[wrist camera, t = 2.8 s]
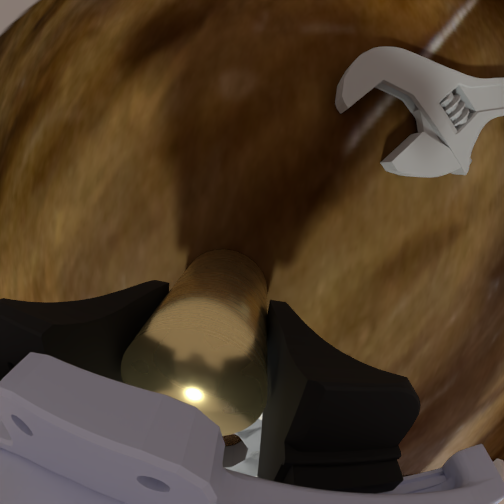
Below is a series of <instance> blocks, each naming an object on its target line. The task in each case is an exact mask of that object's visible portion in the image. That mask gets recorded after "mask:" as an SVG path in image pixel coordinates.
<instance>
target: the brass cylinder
mask: <svg viewBox="0 0 504 504" xmlns="http://www.w3.org/2000/svg"><path fill="white" fill-rule="evenodd" d="M121 376H122V380H123V383H125V384H128V385H131V386H135V387H138V388H142V389H145V390H149V391H153V392H157V393H161V394H164V395H167V396H170V397H172V398H175V399H177V400H180V401H182V402H184V403H187V404H190V405H192V406H195V407H196V408H197V409H199V410H200V411H201V412H202V413H203V414H205V415H206V416H207V417H208V418H209V419H210V420H212V421H213V422H214V423H215V424H217V425H218V426H219V427H220V430H221V434H222V436H226V435H231V434H234V433H237V432H240V431H242V430H244V429H246V428H248V427H249V426H251V425H252V424H253V423H254V422H256V421H257V419H258V418H259V417H260V416H261V414H262V413H263V411H264V409H265V406H266V402H267V285H266V280H265V277H264V275H263V273H262V271H261V269H260V268H259V267H258V265H257V264H256V263H255V262H254V261H253V260H252V259H250V258H249V257H247V256H246V255H244V254H242V253H240V252H237V251H233V250H227V249H217V250H212V251H209V252H206V253H204V254H202V255H200V256H199V257H197V258H196V259H195V260H194V261H193V262H192V263H191V264H190V265H189V267H188V268H187V269H186V271H185V272H184V273H183V274H182V276H181V277H180V278H179V280H178V281H177V282H176V283H175V285H174V286H173V287H172V289H171V290H170V291H169V293H168V294H167V295H166V297H165V298H164V299H163V301H162V302H161V303H160V305H159V306H158V307H157V309H156V310H155V311H154V313H153V314H152V315H151V317H150V318H149V319H148V321H147V322H146V323H145V325H144V326H143V327H142V329H141V330H140V331H139V333H138V334H137V336H136V337H135V338H134V340H133V341H132V342H131V344H130V345H129V347H128V348H127V350H126V351H125V353H124V355H123V358H122V362H121Z"/></svg>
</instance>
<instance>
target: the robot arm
mask: <svg viewBox="0 0 504 504" xmlns="http://www.w3.org/2000/svg"><path fill="white" fill-rule="evenodd" d="M168 293H169V283H167V282H162V281H157V280H153V281H148V282H145V283H142V284H139V285H136V286H133V287H130V288H127V289H124V290H121V291H117V292H114V293H110V294H107V295H104V296H100V297H95V298H90V299H85V300H78V301H68V302H54V303H42V302H26V301H18V300H11V299H5V298H3V299H0V504H498V503H499V502H500V501H501V500H503V499H504V481H503V480H502V478H501V476H500V474H499V472H498V470H497V469H496V467H495V465H494V463H493V461H492V460H491V458H490V456H489V454H488V453H487V451H486V449H485V448H484V446H483V444H478V445H475V446H472V447H469V448H466V449H463V450H460V451H458V452H457V453H455V454H454V455H452V456H451V457H450V458H449V459H448V460H447V461H446V463H445V464H444V465H443V467H442V468H439V469H435V470H431V471H427V472H423V473H419V474H415V475H410V476H405V477H403V476H402V473H401V470H400V467H399V465H398V462H397V459H399V458H400V457H401V451H400V449H399V446H398V444H399V443H400V442H401V440H402V439H403V438H404V436H405V435H406V434H407V432H408V431H409V429H410V428H411V427H412V425H413V424H414V422H415V420H416V418H417V416H418V414H419V410H420V401H419V397H418V395H417V394H416V392H415V390H414V388H413V387H412V385H411V383H410V382H409V380H408V378H407V377H404V376H400V375H396V374H393V373H389V372H386V371H382V370H379V369H377V368H374V367H372V366H369V365H367V364H364V363H362V362H360V361H358V360H356V359H354V358H352V357H350V356H348V355H346V354H344V353H343V352H341V351H339V350H338V349H336V348H335V347H333V346H332V345H330V344H329V343H327V342H326V341H325V340H323V339H322V338H321V337H320V336H318V335H317V334H316V333H315V332H314V331H313V330H312V329H311V328H309V327H308V326H307V325H306V324H305V323H304V322H303V321H302V319H301V318H300V317H299V316H298V315H297V314H296V313H295V312H294V311H293V310H292V308H291V307H290V306H289V305H288V304H287V303H286V302H281V301H274V300H270V304H269V309H268V314H267V402H266V406H265V409H264V411H263V413H262V429H261V442H260V454H259V464H258V474H257V477H254V476H250V475H247V474H243V473H240V472H236V471H233V470H229V469H226V468H223V463H222V462H223V455H224V449H225V443H224V440H223V437H222V434H221V430H220V427H219V426H218V425H217V424H215V423H214V422H213V421H212V420H210V419H209V418H208V417H207V416H206V415H205V414H203V413H202V412H201V411H200V410H199V409H197V408H196V407H195V406H192V405H190V404H187V403H184V402H182V401H180V400H177V399H175V398H172V397H170V396H167V395H164V394H161V393H157V392H153V391H149V390H145V389H142V388H138V387H135V386H131V385H128V384H125V383H123V380H122V376H121V362H122V358H123V355H124V353H125V351H126V350H127V348H128V347H129V345H130V344H131V342H132V341H133V340H134V338H135V337H136V336H137V334H138V333H139V331H140V330H141V329H142V327H143V326H144V325H145V323H146V322H147V321H148V319H149V318H150V317H151V315H152V314H153V313H154V311H155V310H156V309H157V307H158V306H159V305H160V303H161V302H162V301H163V299H164V298H165V297H166V295H167V294H168Z"/></svg>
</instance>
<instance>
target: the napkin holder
mask: <svg viewBox="0 0 504 504" xmlns="http://www.w3.org/2000/svg"><path fill="white" fill-rule="evenodd" d="M493 463H494V465H495V467H496V469H497V470H498V472H499V474H500V476H501V478H502V480H503V481H504V461H503V460H501V459H498V458H497V459H496V460H494V461H493Z"/></svg>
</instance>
